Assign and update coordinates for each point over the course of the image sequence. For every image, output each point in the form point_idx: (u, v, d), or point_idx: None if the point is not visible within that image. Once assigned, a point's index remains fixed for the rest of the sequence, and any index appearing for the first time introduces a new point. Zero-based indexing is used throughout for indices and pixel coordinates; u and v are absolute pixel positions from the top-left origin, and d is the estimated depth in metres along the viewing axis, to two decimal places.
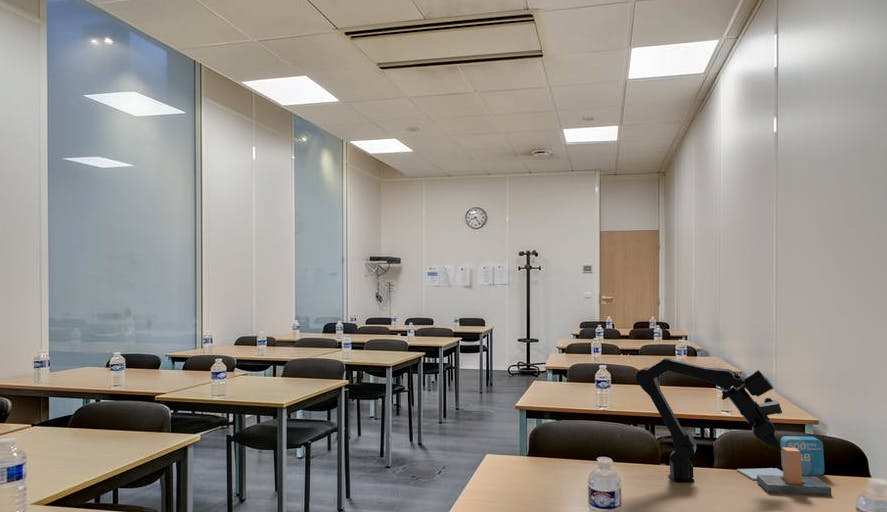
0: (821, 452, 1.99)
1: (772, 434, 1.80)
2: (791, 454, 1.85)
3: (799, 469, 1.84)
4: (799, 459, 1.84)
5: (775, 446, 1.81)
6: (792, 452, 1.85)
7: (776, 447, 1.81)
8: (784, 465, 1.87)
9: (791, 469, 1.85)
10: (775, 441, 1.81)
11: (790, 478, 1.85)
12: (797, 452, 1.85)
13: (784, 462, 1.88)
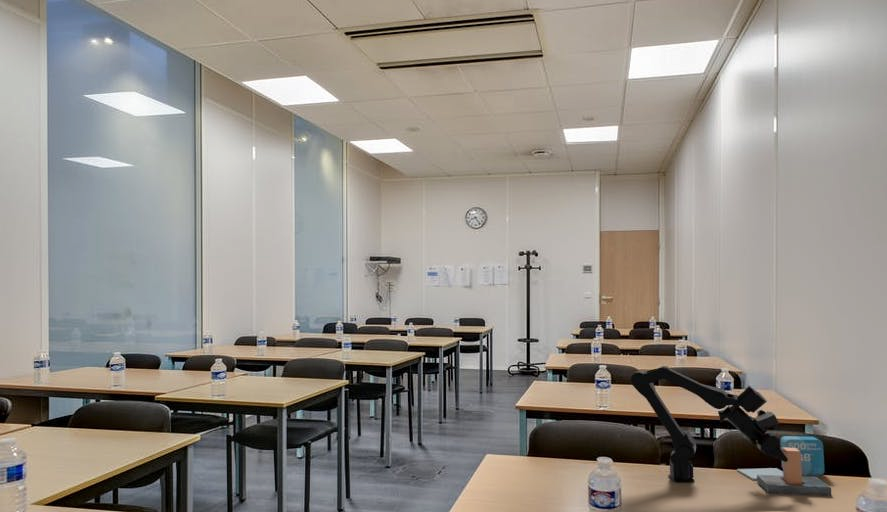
0: (821, 452, 1.99)
1: (777, 446, 1.82)
2: (791, 454, 1.85)
3: (799, 469, 1.84)
4: (799, 459, 1.84)
5: (782, 458, 1.82)
6: (792, 452, 1.85)
7: (783, 458, 1.82)
8: (784, 465, 1.87)
9: (791, 469, 1.85)
10: (781, 453, 1.82)
11: (790, 478, 1.85)
12: (797, 452, 1.85)
13: (784, 462, 1.88)
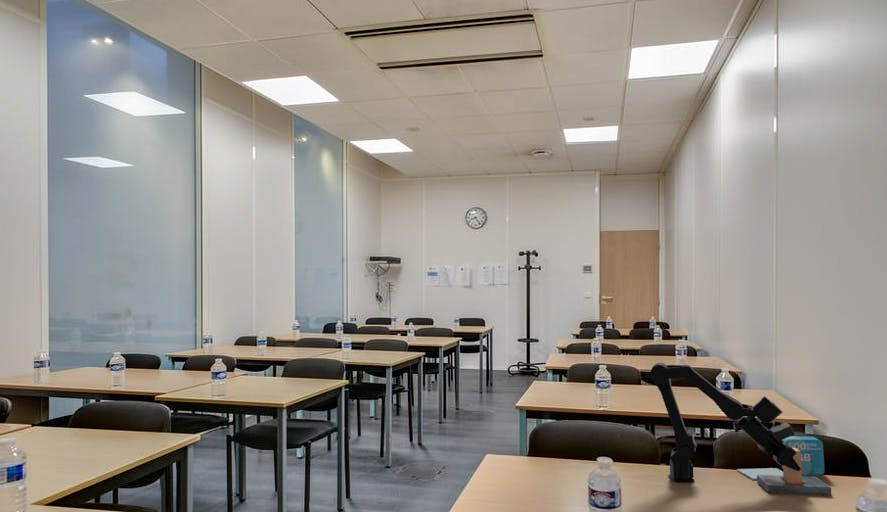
0: (821, 452, 1.99)
1: None
2: None
3: None
4: (799, 459, 1.84)
5: (794, 467, 1.84)
6: None
7: (795, 468, 1.84)
8: None
9: (791, 469, 1.85)
10: (794, 462, 1.83)
11: (790, 478, 1.85)
12: (797, 452, 1.85)
13: None
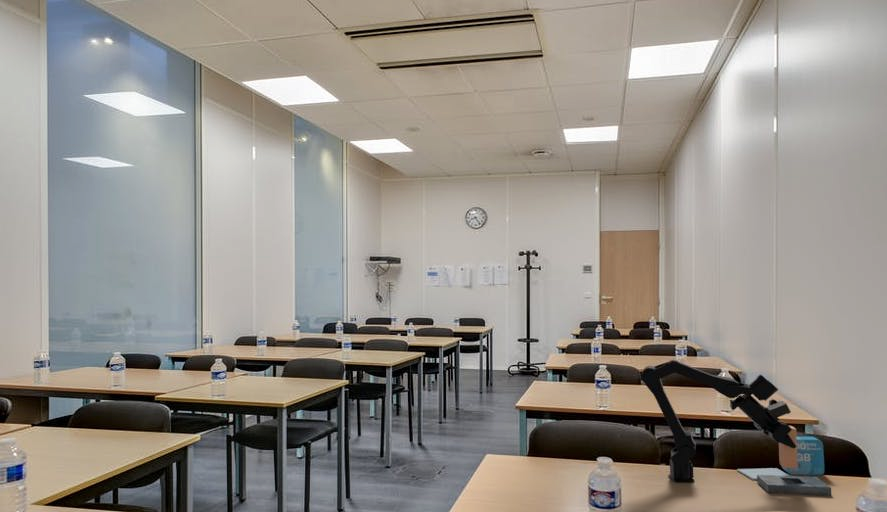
0: (821, 452, 1.99)
1: None
2: None
3: None
4: (795, 436, 1.86)
5: (790, 444, 1.85)
6: None
7: (791, 445, 1.85)
8: (780, 443, 1.89)
9: (787, 446, 1.86)
10: (789, 439, 1.85)
11: (786, 455, 1.86)
12: (793, 430, 1.86)
13: None
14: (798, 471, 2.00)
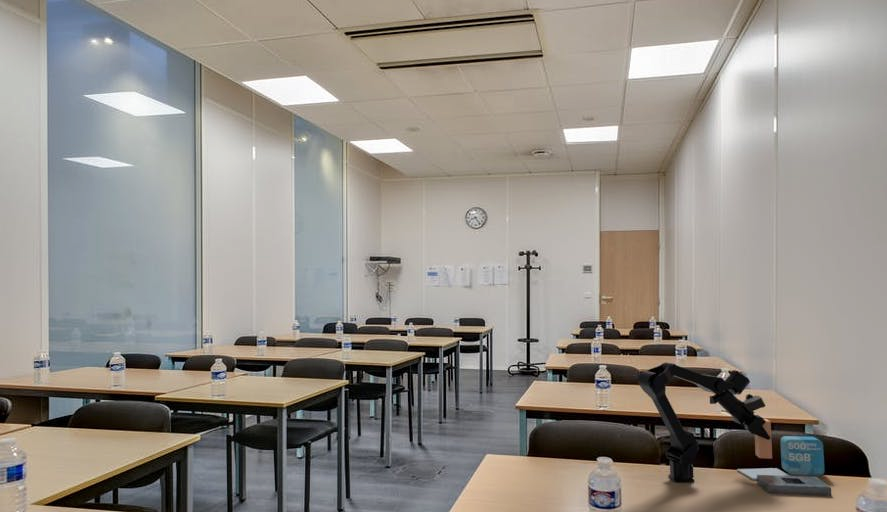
0: (821, 452, 1.99)
1: (760, 426, 1.97)
2: None
3: None
4: (769, 429, 1.99)
5: (765, 436, 1.98)
6: None
7: (766, 437, 1.98)
8: (756, 435, 2.02)
9: None
10: (764, 431, 1.98)
11: (761, 446, 1.99)
12: (767, 422, 1.99)
13: None
14: (798, 471, 2.00)
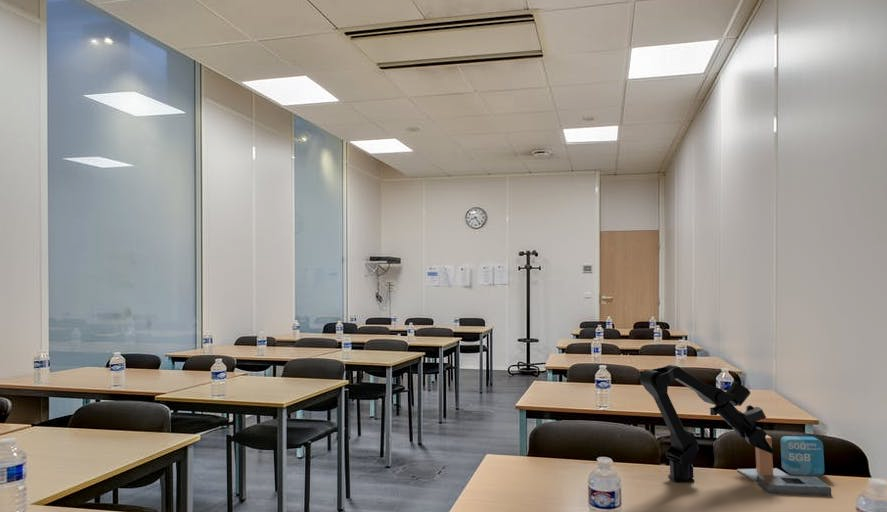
0: (821, 452, 1.99)
1: (763, 439, 1.95)
2: None
3: (770, 454, 1.98)
4: (770, 445, 1.98)
5: (768, 449, 1.96)
6: None
7: (769, 450, 1.96)
8: (756, 451, 2.01)
9: (763, 454, 1.99)
10: (767, 445, 1.95)
11: (762, 463, 1.99)
12: (768, 439, 1.99)
13: (756, 448, 2.02)
14: (798, 471, 2.00)
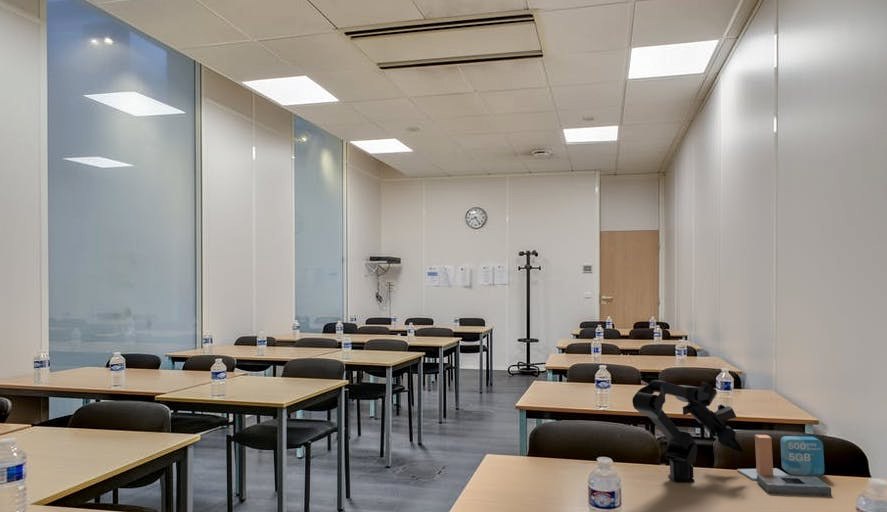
0: (821, 452, 1.99)
1: (733, 438, 1.97)
2: (763, 441, 1.99)
3: (770, 454, 1.98)
4: (770, 445, 1.98)
5: (738, 448, 1.97)
6: (764, 439, 1.99)
7: (739, 449, 1.97)
8: (756, 451, 2.01)
9: (763, 454, 1.99)
10: (737, 444, 1.97)
11: (762, 463, 1.99)
12: (768, 439, 1.99)
13: (756, 448, 2.02)
14: (798, 471, 2.00)
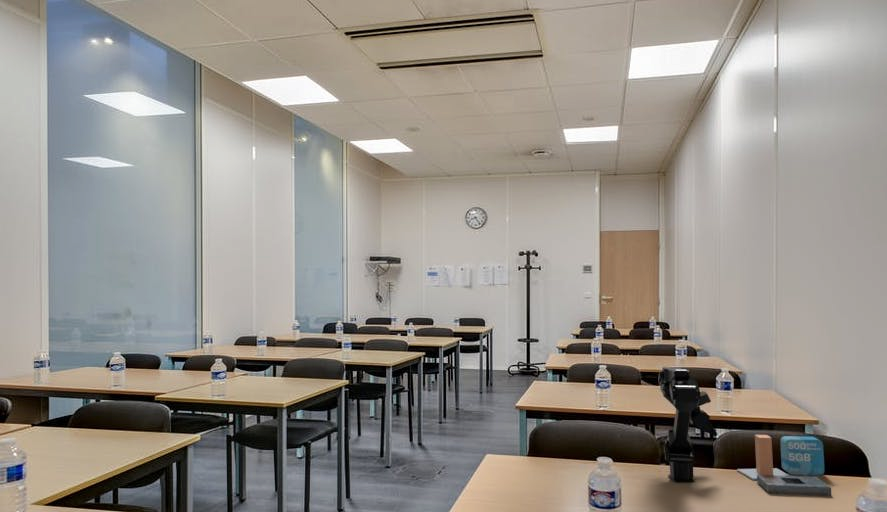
0: (821, 452, 1.99)
1: (707, 422, 2.01)
2: (763, 441, 1.99)
3: (770, 454, 1.98)
4: (770, 445, 1.98)
5: (712, 432, 2.01)
6: (764, 439, 1.99)
7: (713, 433, 2.01)
8: (756, 451, 2.01)
9: (763, 454, 1.99)
10: (711, 428, 2.01)
11: (762, 463, 1.99)
12: (768, 439, 1.99)
13: (756, 448, 2.02)
14: (798, 471, 2.00)
